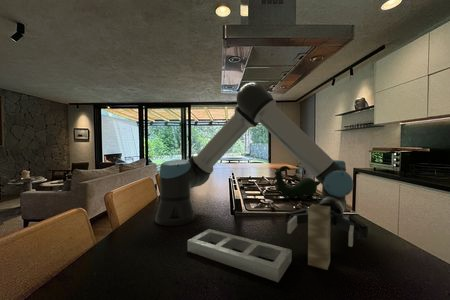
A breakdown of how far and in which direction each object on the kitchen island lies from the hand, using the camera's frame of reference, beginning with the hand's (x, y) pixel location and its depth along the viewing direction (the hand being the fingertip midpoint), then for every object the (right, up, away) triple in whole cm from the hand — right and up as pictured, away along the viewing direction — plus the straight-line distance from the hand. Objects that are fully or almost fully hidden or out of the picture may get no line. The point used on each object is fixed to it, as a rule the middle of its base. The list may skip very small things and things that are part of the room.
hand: (317, 233), depth 52 cm
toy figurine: (+19, -7, +70) cm, 73 cm away
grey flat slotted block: (-19, -8, +6) cm, 21 cm away
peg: (+2, -8, +3) cm, 9 cm away
